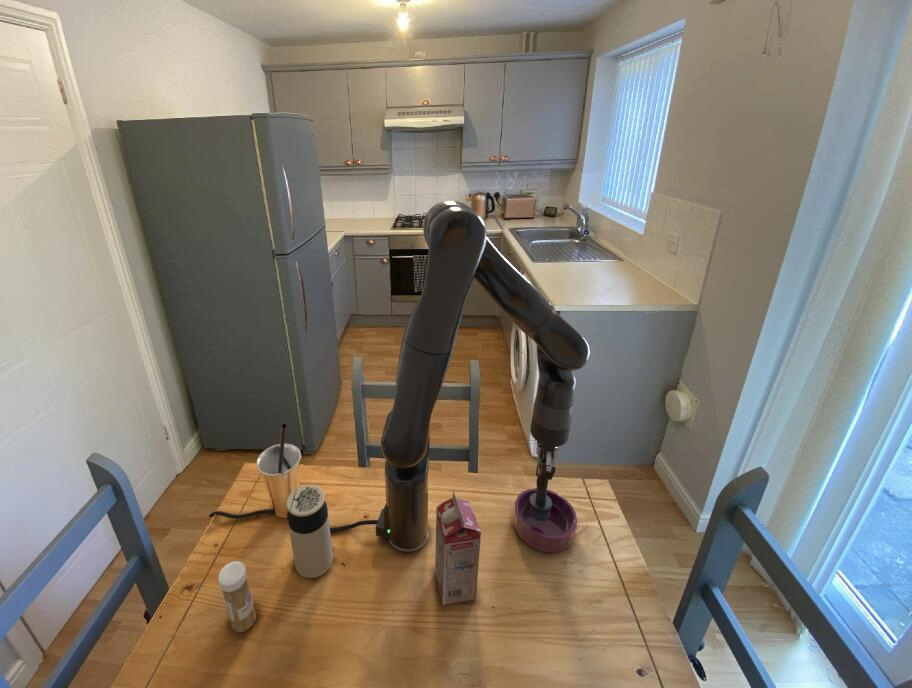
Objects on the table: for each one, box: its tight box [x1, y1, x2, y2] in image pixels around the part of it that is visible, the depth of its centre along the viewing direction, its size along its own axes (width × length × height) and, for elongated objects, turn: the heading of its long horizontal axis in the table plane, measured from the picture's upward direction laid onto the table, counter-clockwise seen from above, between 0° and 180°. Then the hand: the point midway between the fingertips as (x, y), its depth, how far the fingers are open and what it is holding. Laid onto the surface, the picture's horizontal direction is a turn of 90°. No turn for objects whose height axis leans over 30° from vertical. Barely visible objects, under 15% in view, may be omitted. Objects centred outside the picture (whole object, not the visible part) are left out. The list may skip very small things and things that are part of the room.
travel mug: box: [286, 484, 334, 579], centre depth 87 cm, size 8×8×18 cm
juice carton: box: [434, 490, 482, 606], centre depth 81 cm, size 7×7×22 cm
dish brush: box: [529, 485, 552, 521], centre depth 93 cm, size 5×5×15 cm
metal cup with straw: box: [256, 423, 302, 519], centre depth 97 cm, size 11×11×30 cm
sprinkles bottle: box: [217, 560, 257, 633], centre depth 77 cm, size 5×5×14 cm
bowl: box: [512, 487, 578, 554], centre depth 96 cm, size 13×13×5 cm
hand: (541, 480), depth 92 cm, fingers closed on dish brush
